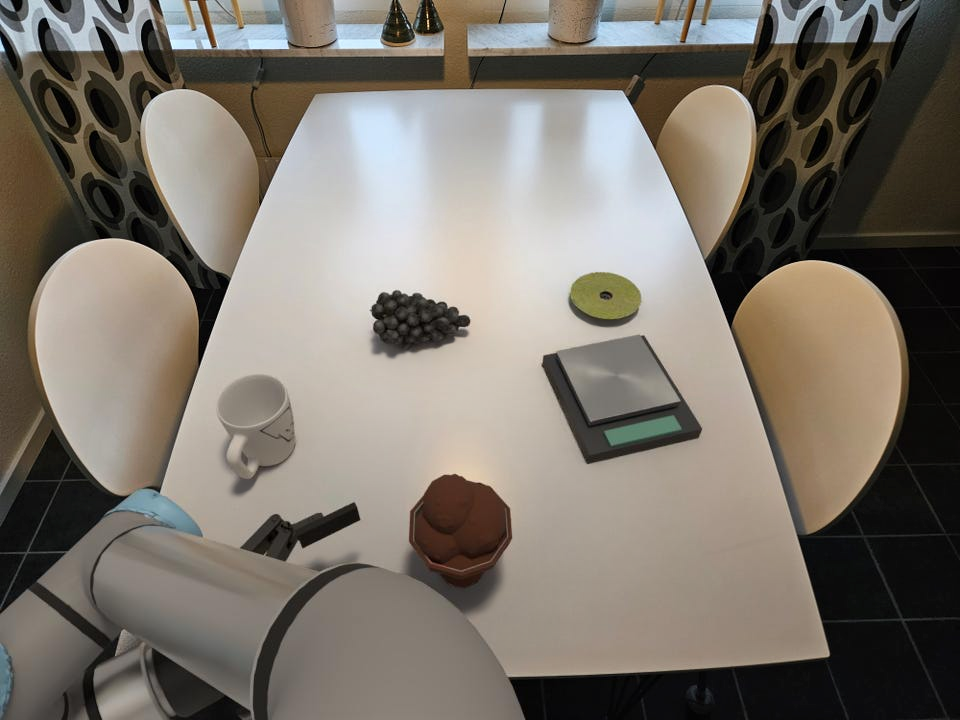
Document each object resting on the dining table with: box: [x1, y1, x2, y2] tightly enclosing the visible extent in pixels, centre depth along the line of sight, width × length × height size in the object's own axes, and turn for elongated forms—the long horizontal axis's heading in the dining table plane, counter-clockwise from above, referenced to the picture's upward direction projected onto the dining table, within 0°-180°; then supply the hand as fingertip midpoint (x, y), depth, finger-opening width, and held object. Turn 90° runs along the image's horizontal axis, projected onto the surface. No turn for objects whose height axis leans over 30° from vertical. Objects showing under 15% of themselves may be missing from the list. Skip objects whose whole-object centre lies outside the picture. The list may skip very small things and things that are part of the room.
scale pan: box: [555, 334, 681, 426], centre depth 90 cm, size 13×13×1 cm
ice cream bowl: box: [408, 473, 513, 589], centre depth 69 cm, size 11×11×15 cm
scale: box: [542, 334, 703, 464], centre depth 90 cm, size 18×16×3 cm
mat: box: [569, 271, 642, 320], centre depth 104 cm, size 11×11×2 cm
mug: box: [215, 373, 296, 480], centre depth 80 cm, size 11×8×10 cm
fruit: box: [369, 289, 471, 350], centre depth 96 cm, size 9×8×15 cm
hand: (385, 563), depth 64 cm, fingers open, 13 cm apart
